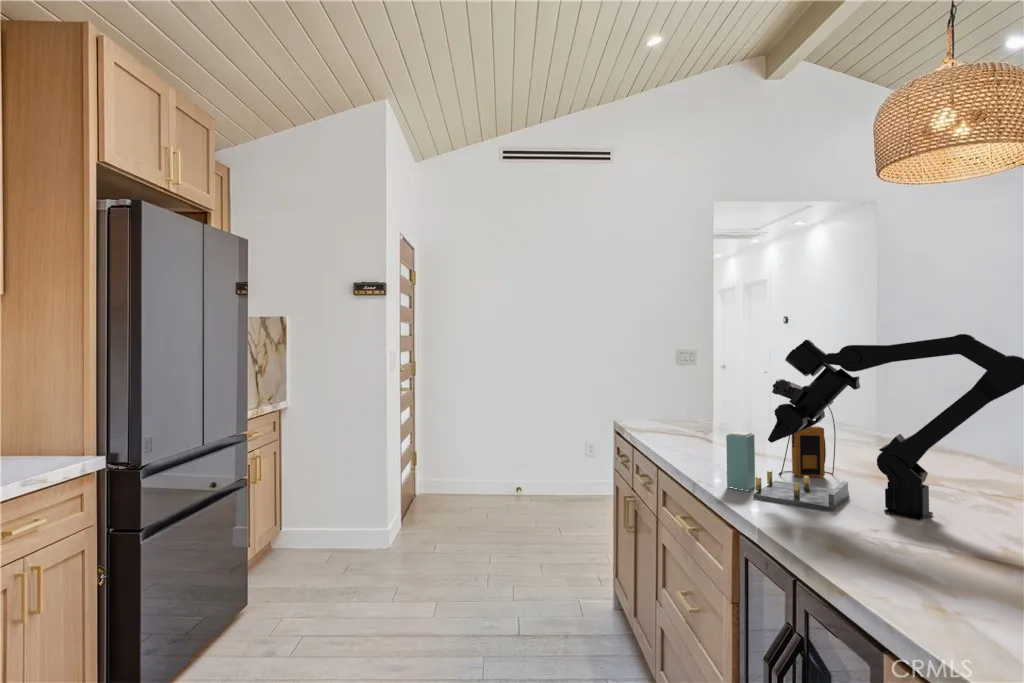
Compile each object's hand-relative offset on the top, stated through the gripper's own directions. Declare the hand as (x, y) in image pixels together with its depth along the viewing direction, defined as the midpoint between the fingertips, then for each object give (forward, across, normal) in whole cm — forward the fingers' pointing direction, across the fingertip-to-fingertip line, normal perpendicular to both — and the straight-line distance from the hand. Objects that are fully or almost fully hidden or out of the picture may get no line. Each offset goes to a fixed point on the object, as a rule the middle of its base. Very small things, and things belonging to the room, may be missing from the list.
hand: (776, 438), depth 130 cm
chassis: (+6, 0, +12) cm, 14 cm away
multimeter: (+11, -25, +7) cm, 28 cm away
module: (+15, +1, +2) cm, 15 cm away
